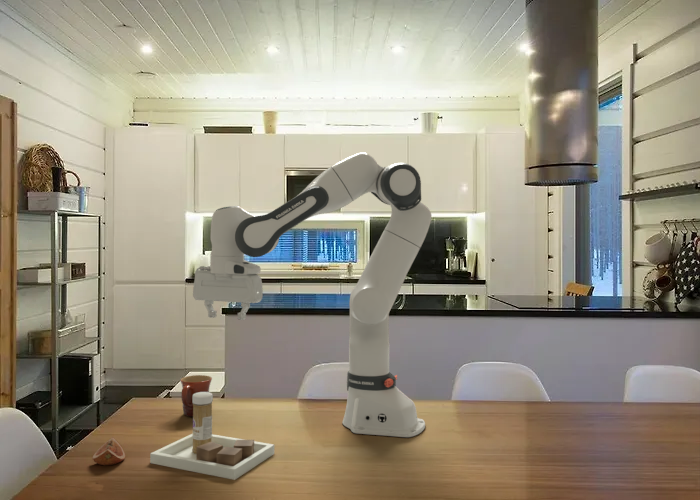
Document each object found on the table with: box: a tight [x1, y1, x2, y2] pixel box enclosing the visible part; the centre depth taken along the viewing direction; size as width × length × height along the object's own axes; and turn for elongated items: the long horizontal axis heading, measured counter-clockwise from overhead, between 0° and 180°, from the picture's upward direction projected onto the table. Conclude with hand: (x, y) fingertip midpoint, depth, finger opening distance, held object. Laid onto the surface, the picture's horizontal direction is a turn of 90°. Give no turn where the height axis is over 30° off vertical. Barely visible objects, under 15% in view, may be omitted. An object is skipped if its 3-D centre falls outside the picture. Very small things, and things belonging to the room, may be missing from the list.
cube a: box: [217, 447, 242, 466], centre depth 123 cm, size 4×4×4 cm
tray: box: [149, 433, 275, 481], centre depth 130 cm, size 22×16×3 cm
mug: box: [180, 374, 213, 418], centre depth 164 cm, size 12×9×10 cm
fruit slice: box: [91, 436, 126, 466], centre depth 127 cm, size 8×7×5 cm
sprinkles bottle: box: [192, 391, 214, 454], centre depth 134 cm, size 5×5×14 cm
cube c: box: [234, 439, 255, 461], centre depth 128 cm, size 4×4×4 cm
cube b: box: [196, 442, 223, 463], centre depth 126 cm, size 4×4×4 cm
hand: (226, 318), depth 154 cm, fingers open, 8 cm apart
